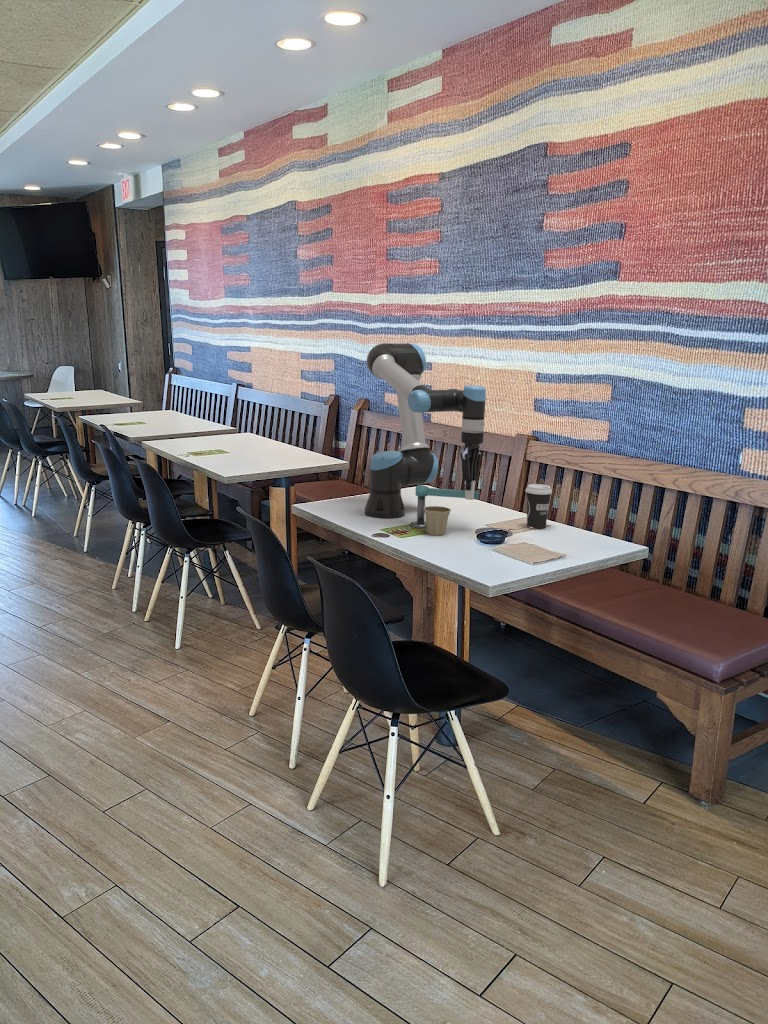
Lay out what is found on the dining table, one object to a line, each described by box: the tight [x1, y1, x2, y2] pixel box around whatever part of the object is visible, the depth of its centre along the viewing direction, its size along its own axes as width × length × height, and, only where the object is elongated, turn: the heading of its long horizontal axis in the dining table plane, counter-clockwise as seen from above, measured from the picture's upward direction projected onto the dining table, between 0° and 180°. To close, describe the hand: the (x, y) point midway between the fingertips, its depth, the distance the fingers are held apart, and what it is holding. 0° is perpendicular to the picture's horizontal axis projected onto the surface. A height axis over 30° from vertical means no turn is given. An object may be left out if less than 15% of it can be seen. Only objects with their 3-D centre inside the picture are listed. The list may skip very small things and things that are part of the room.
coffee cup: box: [525, 483, 553, 530], centre depth 297 cm, size 10×10×15 cm
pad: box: [474, 527, 513, 538], centre depth 288 cm, size 13×13×1 cm
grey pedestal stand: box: [410, 496, 427, 530], centre depth 294 cm, size 7×7×11 cm
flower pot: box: [424, 505, 452, 536], centre depth 285 cm, size 9×9×9 cm
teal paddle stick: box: [414, 485, 480, 500], centre depth 290 cm, size 22×4×3 cm, turn 78°
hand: (469, 499), depth 287 cm, fingers closed
